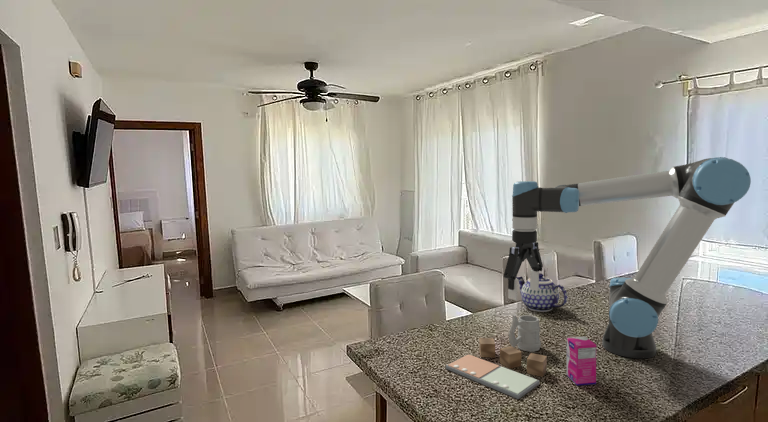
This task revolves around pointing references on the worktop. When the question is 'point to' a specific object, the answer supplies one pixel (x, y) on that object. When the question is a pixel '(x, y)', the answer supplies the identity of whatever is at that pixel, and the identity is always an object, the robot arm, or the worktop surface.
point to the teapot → (541, 294)
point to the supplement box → (581, 360)
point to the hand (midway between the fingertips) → (523, 294)
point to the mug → (525, 333)
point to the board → (493, 376)
